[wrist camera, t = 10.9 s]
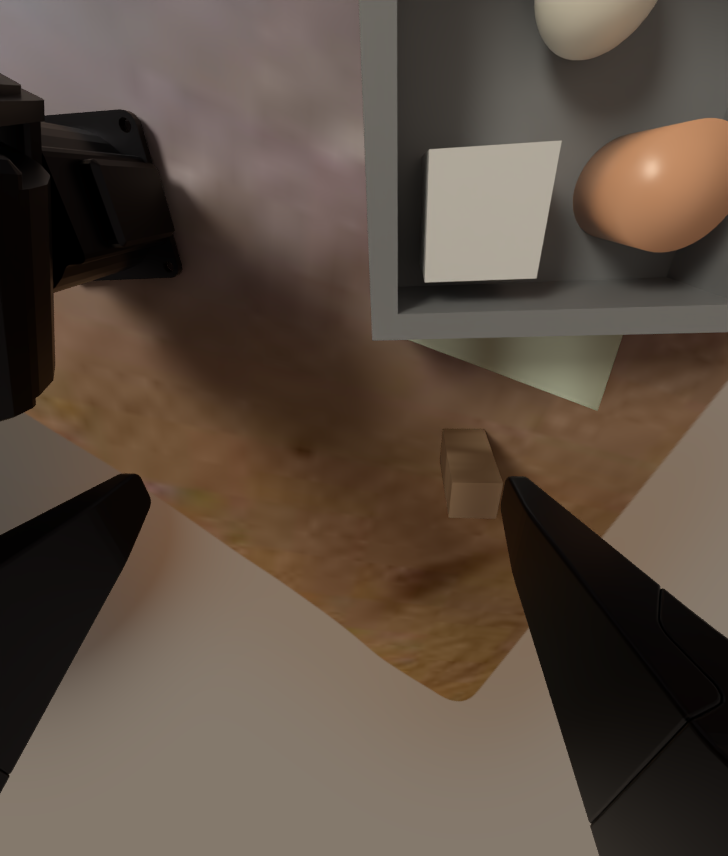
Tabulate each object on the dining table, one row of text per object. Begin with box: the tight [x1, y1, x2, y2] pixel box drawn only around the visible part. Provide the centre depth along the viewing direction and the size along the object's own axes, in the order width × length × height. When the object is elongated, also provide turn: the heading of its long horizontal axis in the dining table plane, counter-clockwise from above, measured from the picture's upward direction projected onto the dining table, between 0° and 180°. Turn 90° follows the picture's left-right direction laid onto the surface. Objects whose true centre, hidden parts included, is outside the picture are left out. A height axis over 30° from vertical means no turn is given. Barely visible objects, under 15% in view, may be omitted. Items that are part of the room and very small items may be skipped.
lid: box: [410, 335, 623, 519], centre depth 22 cm, size 15×15×6 cm
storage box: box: [359, 0, 728, 341], centre depth 13 cm, size 14×14×6 cm
